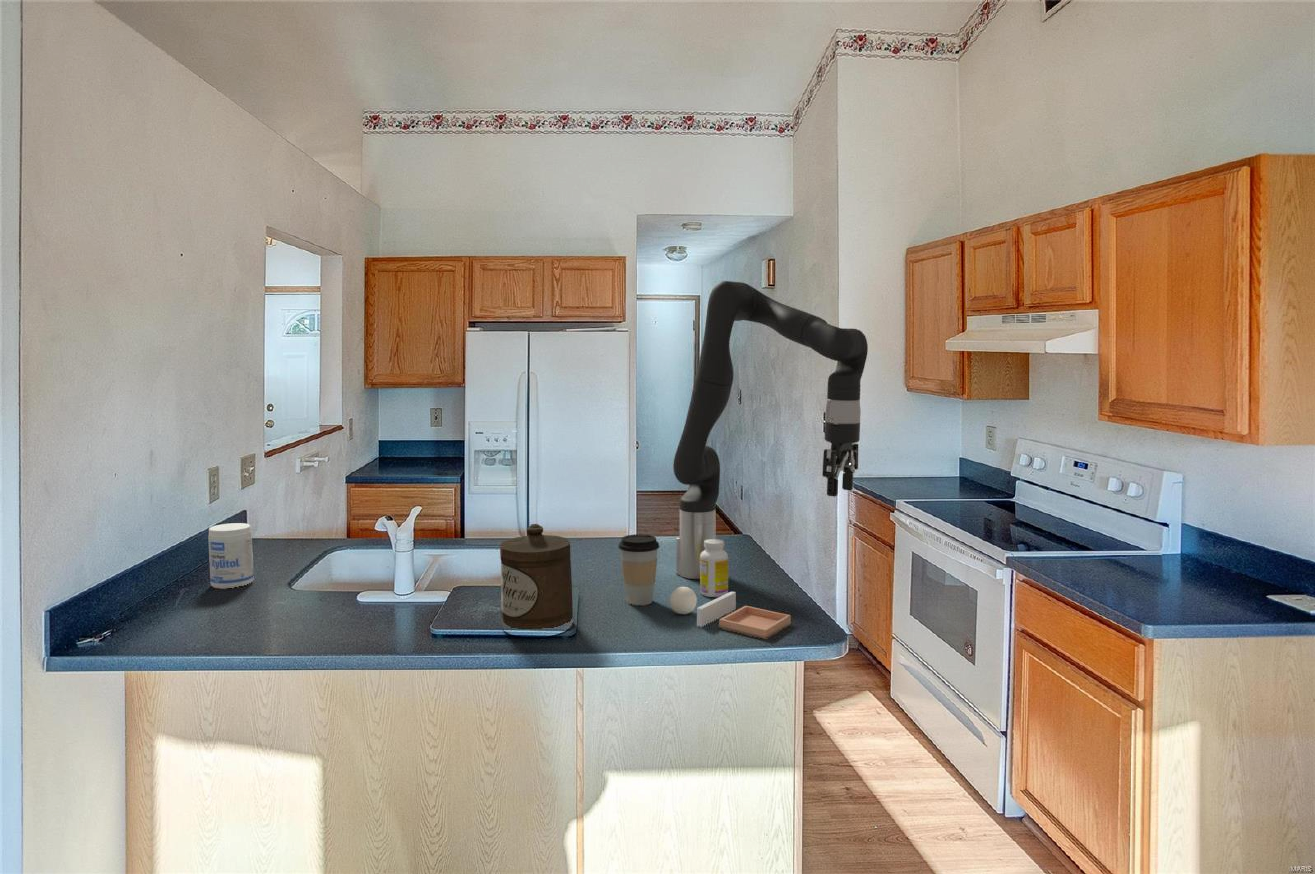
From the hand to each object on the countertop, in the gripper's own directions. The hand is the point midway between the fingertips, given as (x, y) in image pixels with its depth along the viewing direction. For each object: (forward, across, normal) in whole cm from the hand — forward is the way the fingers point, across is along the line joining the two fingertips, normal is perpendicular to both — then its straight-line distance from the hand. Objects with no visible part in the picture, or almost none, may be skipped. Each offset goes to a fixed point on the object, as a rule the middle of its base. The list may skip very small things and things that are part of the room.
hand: (839, 492), depth 180 cm
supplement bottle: (+27, +7, -28) cm, 39 cm away
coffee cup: (+27, +22, -39) cm, 52 cm away
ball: (+27, +23, -26) cm, 44 cm away
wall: (+27, +21, -18) cm, 39 cm away
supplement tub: (+29, +68, -131) cm, 150 cm away
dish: (+26, +21, -9) cm, 35 cm away
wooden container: (+27, +47, -47) cm, 72 cm away
